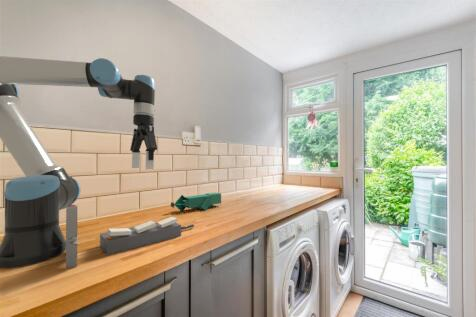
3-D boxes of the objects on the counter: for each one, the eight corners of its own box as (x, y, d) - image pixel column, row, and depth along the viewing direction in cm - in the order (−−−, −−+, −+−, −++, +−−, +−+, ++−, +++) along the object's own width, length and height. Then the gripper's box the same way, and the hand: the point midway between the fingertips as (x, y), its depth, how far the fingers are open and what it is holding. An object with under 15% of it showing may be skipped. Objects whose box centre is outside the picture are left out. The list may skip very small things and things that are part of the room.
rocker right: (162, 228, 76) (161, 224, 75) (157, 225, 78) (157, 222, 78) (177, 221, 80) (177, 218, 79) (172, 219, 82) (172, 216, 82)
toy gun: (76, 201, 68) (77, 205, 57) (76, 253, 67) (77, 268, 55) (66, 202, 67) (66, 206, 55) (66, 255, 66) (65, 271, 54)
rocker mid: (138, 233, 70) (137, 229, 70) (134, 230, 73) (133, 227, 73) (156, 226, 74) (155, 222, 74) (151, 223, 77) (151, 220, 77)
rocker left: (110, 235, 65) (111, 231, 65) (107, 232, 68) (108, 228, 68) (131, 234, 69) (132, 231, 69) (127, 231, 72) (128, 228, 72)
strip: (106, 255, 63) (106, 240, 63) (100, 245, 71) (100, 232, 71) (200, 230, 85) (200, 219, 85) (187, 225, 93) (187, 214, 93)
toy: (167, 194, 119) (213, 189, 138) (167, 212, 119) (213, 204, 138) (176, 197, 109) (223, 191, 128) (176, 216, 109) (224, 207, 128)
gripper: (167, 112, 80) (166, 169, 79) (140, 120, 97) (139, 167, 97) (147, 108, 74) (145, 169, 74) (123, 118, 92) (121, 167, 91)
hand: (142, 168), depth 85 cm, fingers open, 13 cm apart
